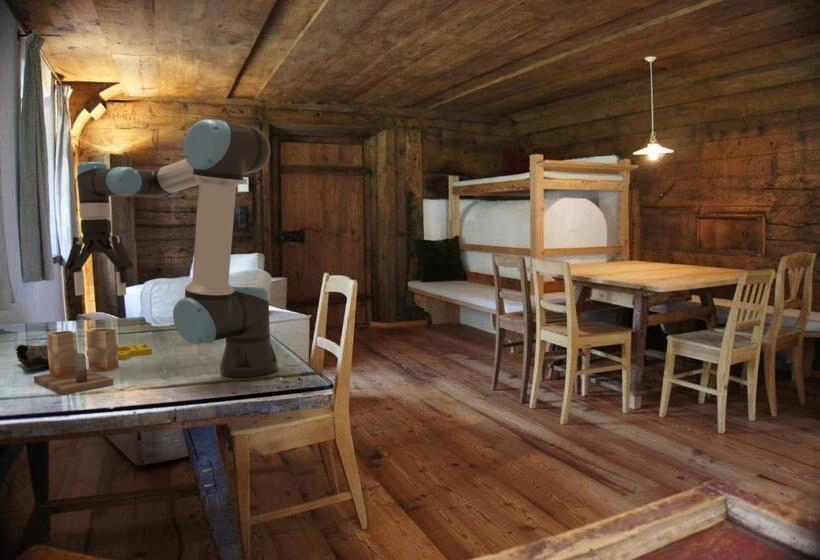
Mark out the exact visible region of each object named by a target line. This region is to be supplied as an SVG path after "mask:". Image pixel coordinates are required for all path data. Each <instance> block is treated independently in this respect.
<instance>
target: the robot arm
mask: <svg viewBox="0 0 820 560" xmlns="http://www.w3.org/2000/svg"><path fill="white" fill-rule="evenodd" d="M183 156H184V158H185V159H182V160H178V161H177V162H173V163H171V164H168V165H164V166H162V167H159V168H156V169H137V168H133V167H129V166H116V167H111V168H109V167H108V166H107V165H108V164H106V163H105V162H102V161H100V162H99V161H82V162H79V163H78V164H77V166H76V173H77V175H76V179H77V191H78V202H79V204H78V205H79V217H80V218H81V219H82V220H81V221H80V230H81V231H80V232H81V234H82V235H83V236H73V237H72V246H71V248H70V251H69V254H68V257H67V261H66V263H65V266H64V269H65V270H66V271H67V270H68V271H70V272H71V278H72V283H73V284H74V293H75V294H74V295H75V296H82V295H85V293H86V291H85V282H84V281H85V280H84V279H85V278H84V271H82V268H83V266H84V265H85V263H86V262H87V261H88V259H89V257H90V256H91V255H92V254H93V253H94V254H95V253H97V254H98V253H102V254H104V255H105V256H106V257H107V259H109V261H110V262H111V263H112V264H113V266H114V267H115V269H116V270H117V271H116V272H115V278H116V293H117V294H116V295H117V296H119V297H120V296H125V295H126V296H127V287H126V284H127V283H128V271H129V270H132V269H134V264H133V263H132V260H131V259H130V256H129V254H128V252H127V250H126V248H125V246H124V245H123V241H122V236H121V235H112V236H111V232H112V221H111V220H110V219H109V218H111V211H110V209H111V208H110V197H147V198H148V197H149V198H161V199H162V198H172V197H174V196H176V194H177V193H178V192H179V191H182V190H186V189H189V188H192V187H196V186H198V194H197V205H196V207H197V208H196V221H195V222H196V223H195V235H194V236H195V237H194V253H193V263H192V264H193V267H192V280H191V281H190V282H189V283H188V284H187V285H185V286H184V287H185V288H184V297H183V298H180V299H179V300H178V301H177V303H176V304H175V305H174V307H173V310H172V321H173V324H174V326H175V329H176V331H177V332H178V333H179V336H180V337H181V338H183V339H184V341H186V342H188V343H190V344H193V345H200V344H202V345H203V344H210V343H212V342H216V341H220V340H224V339H225V346H224V348H223V349H224V350H223V353H222V358H221V361H220V365H219V372H220V375H221V376H224V377H229V378H250V377H260V376H265V375H269V374H272V373H275V372H276V371H277V370H278V369H279V365H278V364H279V362H278V359H277V357H276V354H275V351H274V348H273V346H272V343H271V332H270V331H271V330H270V326H271V325H270V301H269V293H268V291H267V289H265V288H264V287H258V286H257V287H254V286H253V287H251V286H234V285H233V286H232V285H231V284H230V282H229V280H230V269H231V268H230V266H231V259H232V258H231V257H232V255H231V254H232V243H233V231H234V221H235V220H234V218H235V206H236V203H235V202H236V193H237V192H236V190H237V187H238V186H239V185H240V184H241V183H243V182H244V176H246V175H249V174H253V173H256V172H258V171H261V170H262V169H263V168H264V167H265V166H266V165H267V164H268V162H269V160H270V157H271V145H270V142H269V140H268V138H267V136H266V134H265V133H264V132H263V131H261V130H260V129H259V128H257V127H255V126H252V125H248V124H240V123H236V122H230V121H225V120H223V119H222V120H221V119H209V118H208V119H201V120H199V121H197V122H196V123H194V124H193V126H191V127H190V128H189V129H188V131H187V133H186V135H185V137H184V141H183ZM111 244H112V245H111ZM83 245H84V246H83Z"/></svg>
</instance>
